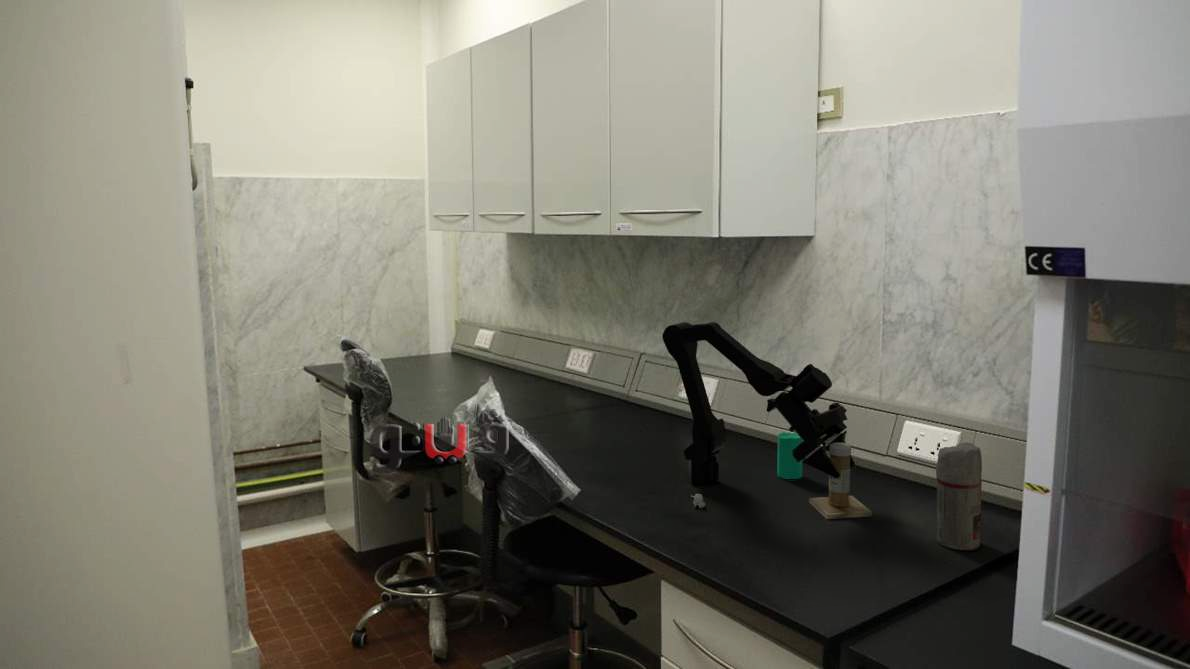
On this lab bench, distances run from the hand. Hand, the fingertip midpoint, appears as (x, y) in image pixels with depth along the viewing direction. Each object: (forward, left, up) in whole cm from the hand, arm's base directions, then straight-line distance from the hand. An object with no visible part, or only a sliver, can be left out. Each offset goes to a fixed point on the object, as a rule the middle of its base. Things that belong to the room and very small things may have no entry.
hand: (846, 471), depth 175 cm
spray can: (+14, -20, -9) cm, 26 cm away
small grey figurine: (-32, +7, -9) cm, 34 cm away
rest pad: (-1, +1, -9) cm, 9 cm away
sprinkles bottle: (-1, +1, -8) cm, 8 cm away
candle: (-4, +24, -9) cm, 26 cm away
